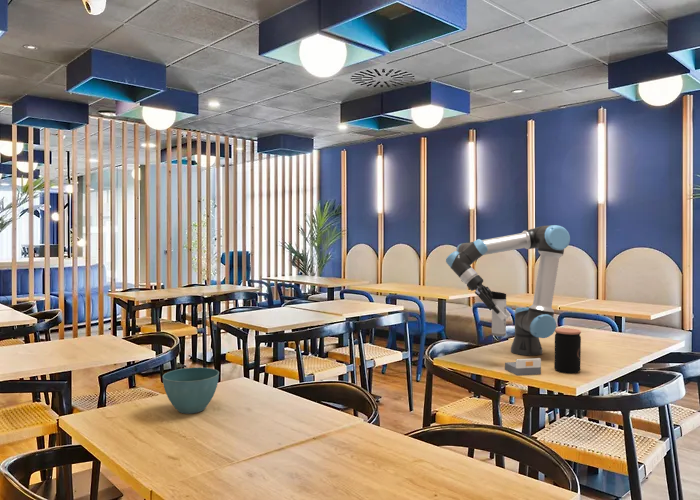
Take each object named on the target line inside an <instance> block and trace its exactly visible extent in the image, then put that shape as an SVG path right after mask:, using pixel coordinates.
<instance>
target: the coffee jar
mask: <svg viewBox="0 0 700 500" xmlns="http://www.w3.org/2000/svg"><path fill="white" fill-rule="evenodd" d="M554 333H555V334H554V362H553V363H554V366H553V367H554V369H555V371H556V372H557V373H558V372H559V373H561V374H568V375H571V374H572V375H574V374H575V375H576V374H578V373H580V371H581V353H582V351H581V350H582V349H581V348H582V347H581V345H582V337H581V333H582V331H581V330H580V329H577V328H568V327H566V328H565V327H561V328H560V327H559V328H556V329H555V332H554Z"/></svg>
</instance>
